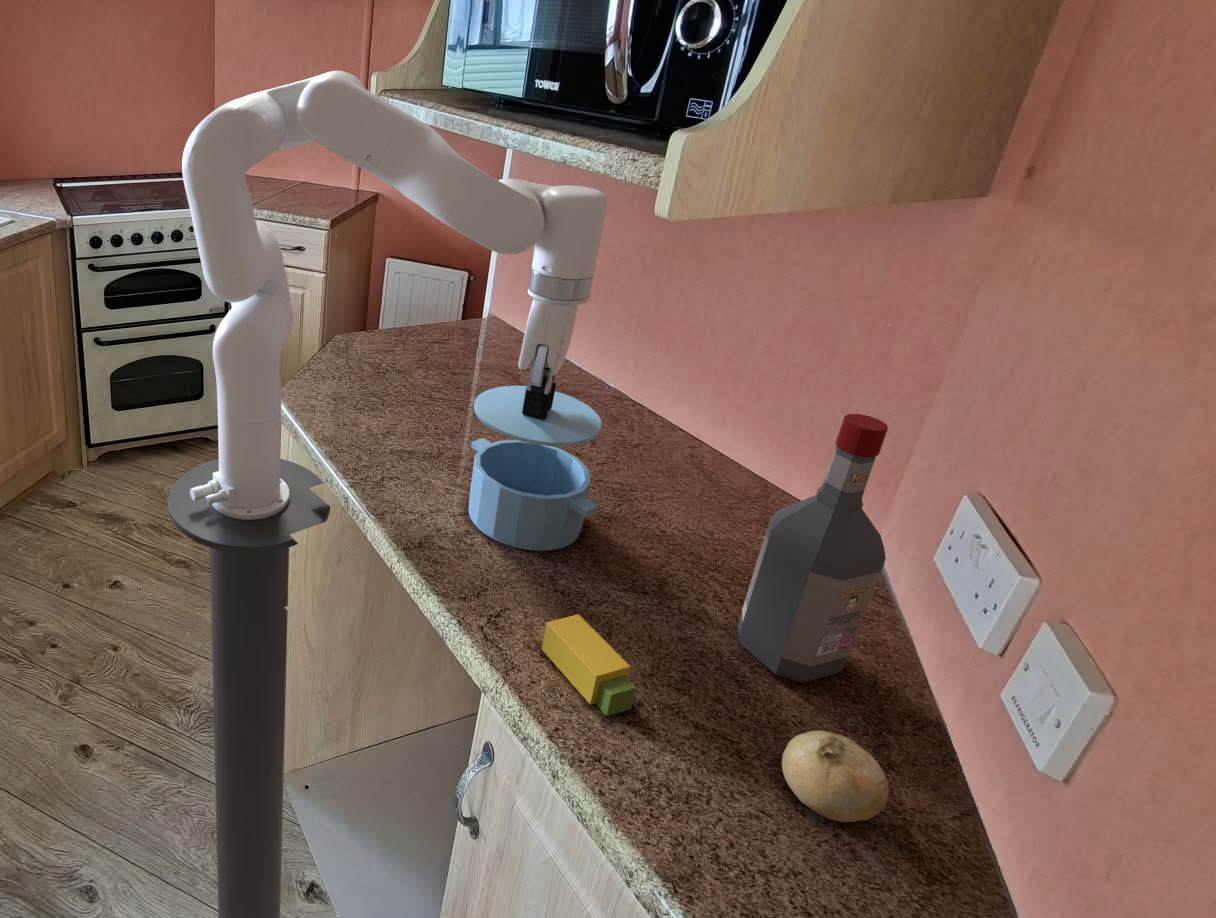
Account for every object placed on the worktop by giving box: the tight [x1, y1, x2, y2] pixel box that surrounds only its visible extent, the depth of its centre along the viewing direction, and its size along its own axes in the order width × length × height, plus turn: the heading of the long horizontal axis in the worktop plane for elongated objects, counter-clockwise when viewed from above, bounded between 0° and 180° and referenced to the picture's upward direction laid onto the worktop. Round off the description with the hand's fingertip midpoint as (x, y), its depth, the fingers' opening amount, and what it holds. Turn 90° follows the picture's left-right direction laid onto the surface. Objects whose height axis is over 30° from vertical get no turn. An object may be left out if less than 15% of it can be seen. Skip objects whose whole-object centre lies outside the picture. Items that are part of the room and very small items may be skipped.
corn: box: [541, 613, 637, 717], centre depth 87 cm, size 10×4×4 cm, turn 18°
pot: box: [468, 437, 600, 552], centre depth 114 cm, size 16×21×8 cm
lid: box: [473, 376, 602, 447], centre depth 108 cm, size 17×17×7 cm
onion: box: [781, 730, 890, 824], centre depth 73 cm, size 8×8×7 cm
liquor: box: [737, 413, 889, 684], centre depth 85 cm, size 9×9×30 cm
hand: (536, 410), depth 109 cm, fingers closed on lid, 2 cm apart
